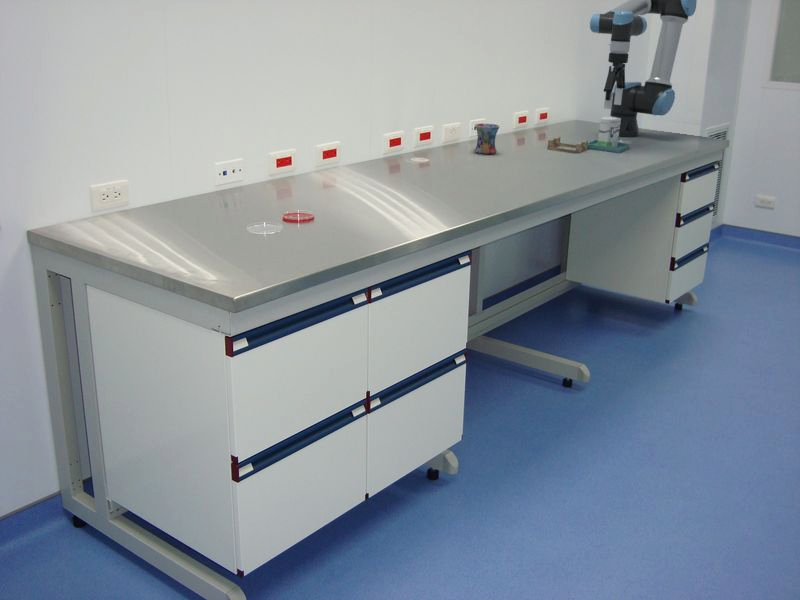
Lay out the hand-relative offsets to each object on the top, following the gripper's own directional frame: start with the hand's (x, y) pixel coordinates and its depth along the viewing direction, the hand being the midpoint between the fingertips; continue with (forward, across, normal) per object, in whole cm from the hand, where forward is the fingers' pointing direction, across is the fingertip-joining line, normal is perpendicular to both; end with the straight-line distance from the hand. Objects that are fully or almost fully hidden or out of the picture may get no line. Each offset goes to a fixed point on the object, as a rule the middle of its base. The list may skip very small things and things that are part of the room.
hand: (612, 106), depth 342 cm
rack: (+16, +15, -12) cm, 25 cm away
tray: (+17, +1, 0) cm, 17 cm away
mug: (+16, +45, -34) cm, 58 cm away
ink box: (+16, 0, 0) cm, 17 cm away
